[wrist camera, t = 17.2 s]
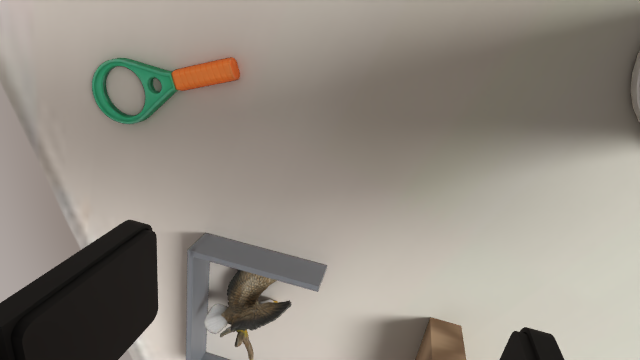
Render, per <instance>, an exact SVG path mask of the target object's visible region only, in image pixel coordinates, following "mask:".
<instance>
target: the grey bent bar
mask: <svg viewBox="0 0 640 360" xmlns="http://www.w3.org/2000/svg"><path fill="white" fill-rule="evenodd" d="M210 262H214V263H217V264H221V265H224V266H228V267H231V268H235V269H239V270H242V271H246V272H249V273H253V274H256V275H260V276H263V277H267V278H271V279H274V280H278V281H281V282H285V283H288V284H292V285H296V286H299V287H303V288H306V289H310V290H313V291H317V292H318V291H319V288H320V285H321V283H322V280H323V277H324V275H325V272H326V269H327V265H324V264H320V263H316V262H312V261H309V260H305V259H301V258H298V257H294V256H290V255H286V254H283V253H279V252H275V251H271V250H268V249H264V248H260V247H257V246H253V245H249V244H245V243H242V242H238V241H234V240H231V239H227V238H223V237H219V236H216V235H212V234H208V233H205V234H204V235H203V236H202V237H201V238H200V239H199V240H198V241H197V242H196V243H194V244H193V245H192V246H191V247H190V248H189V249H188V260H187V327H186V360H229V359H226V358H223V357H219V356H216V355H213V354H210V353H207V352H206V336H207V328H206V327H205V323H204V321H205V319H206V315H207V313H208V289H209V265H210Z"/></svg>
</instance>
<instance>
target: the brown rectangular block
mask: <svg viewBox="0 0 640 360" xmlns="http://www.w3.org/2000/svg"><path fill="white" fill-rule="evenodd" d="M416 360H466V355H465V348H464V342H463V335H462V328H461V326H460V325H456V324H453V323H449V322H446V321H442V320H438V319H435V318H431V317H430V319H429V322H428V325H427V328H426V331H425V334H424V336H423V339H422V342H421V345H420V348H419V351H418V354H417V357H416Z"/></svg>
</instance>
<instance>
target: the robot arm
mask: <svg viewBox="0 0 640 360" xmlns="http://www.w3.org/2000/svg"><path fill="white" fill-rule="evenodd" d="M631 98H632V105H633V109H634V111H635V114H636V116H637V119H638V121H639V123H640V51H639V53H638V55H637V59H636V62H635V65H634V69H633V72H632V79H631ZM157 311H158V282H157V239H156V234H155V232H153V231H152V228H151V226H150V225H148V224H144V223H141V222H137V221H133V220H127V221H125V222H123V223H122V224H120V225H118V226H117V227H115V228H114V229H112V230H111V231H109V232H108V233H106V234H105V235H103V236H102V237H100V238H99V239H97V240H96V241H94V242H93V243H91V244H90V245H88V246H86V247H85V248H83V249H82V250H80V251H79V252H77V253H76V254H74V255H73V256H71V257H70V258H69V259H67V260H65V261H64V262H62V263H61V264H59V265H58V266H56V267H55V268H53V269H51V270H50V271H48V272H47V273H45V274H44V275H42V276H41V277H39V278H38V279H36V280H35V281H33V282H32V283H30V284H29V285H27V286H26V287H24V288H22V289H21V290H19V291H18V292H17V293H15V294H13V295H12V296H10V297H9V298H7V299H6V300H4V301H3V302H1V303H0V360H118V359H119V358H120V357H121V356H122V355H123V354H124V353H125V352H126V350H127V349H128V348H129V347H130V346H131V345H132V344H133V343H134V342H135V340H136V339H137V338H138V337H139V336H140V335H141V334H142V333H143V332H144V331H145V329H146V328H147V327H148V326H149V325H150V324H151V323H152V322H153V320H154V319H155V317H156V314H157ZM500 360H564V358H563V356H562V354H561V351H560V349H559V347H558V345H557V342H556V340H555V338H554V337H553V335H551V334H549V333H545V332H541V331H538V330H534V329H530V328H527V327H524V328H523V329H521V331H520V332H517V331H514V332H513V333H512V334H511V336H510V338H509V340H508V343H507V345H506V347H505V349H504V351H503V353H502V356H501V358H500Z"/></svg>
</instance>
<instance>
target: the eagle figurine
mask: <svg viewBox="0 0 640 360" xmlns="http://www.w3.org/2000/svg"><path fill="white" fill-rule="evenodd" d="M275 281H277V280H274V279H271V278H267V277H263V276H260V275H256V274H253V273H249V272H246V271H242V270H238V272H237V273H236V274H235V276H234V277H233V280H231V282H230V284H229V286H228V290H227V291H228V293H227V295H228V300H229V302H228V305H229V307H227V306H224V305H222V304H216V305H214V306H213V307H212V308H211V310H210V311H209V313H208V314H207V315H206V319H205V321H204V323H205V327H206V328H207V330H208V331H209V332H211V333H214V334H216V333H218V332H220V331H221V330H222V329H223V328H224V327H225V326H226V325H227V324H231V327H229V328H227V329H226V330H225V331H224V332H222V333H221V334H220V337H222V336H224V335H226V334H228V333H231V332H235V331H237V333H238V335H237V338H236V342H235V347H238V346H240V345H241V344H242V342H243V343H244V344H245V346H246V349H247V351H248V356H249V359H250V360H253V349H252V346H251V343H250V341H249V337H248V332H247V329H250V330H254V329H255V330H256V329H257V328H258V327H259V328H260V327H261V326H264V325H266V324H268V323H270V322H272V321H274V320H276V319H277V318H278V317H279V316H281V315H282V313H284V312H285V311H286V310H287V309H288V308H289V307H291V302H290V301H286V302H279V303H278V302H277V301H273V300H271V299H270V300H265V301H263V302H258V298H259V296H260V294H261V293H262V292H263V291H264V290H265V289H266V288H267V287H268V286H269V285H270V284H272V283H274V282H275Z"/></svg>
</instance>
